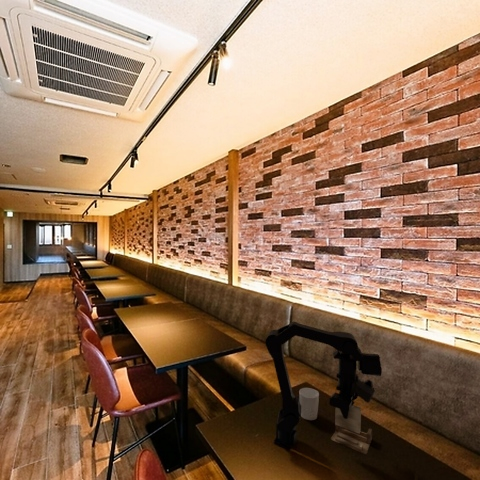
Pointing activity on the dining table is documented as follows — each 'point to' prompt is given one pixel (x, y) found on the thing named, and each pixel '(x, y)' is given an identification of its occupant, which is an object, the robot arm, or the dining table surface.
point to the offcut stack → (349, 441)
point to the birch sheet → (349, 419)
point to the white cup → (309, 403)
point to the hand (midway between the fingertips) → (346, 417)
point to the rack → (355, 437)
